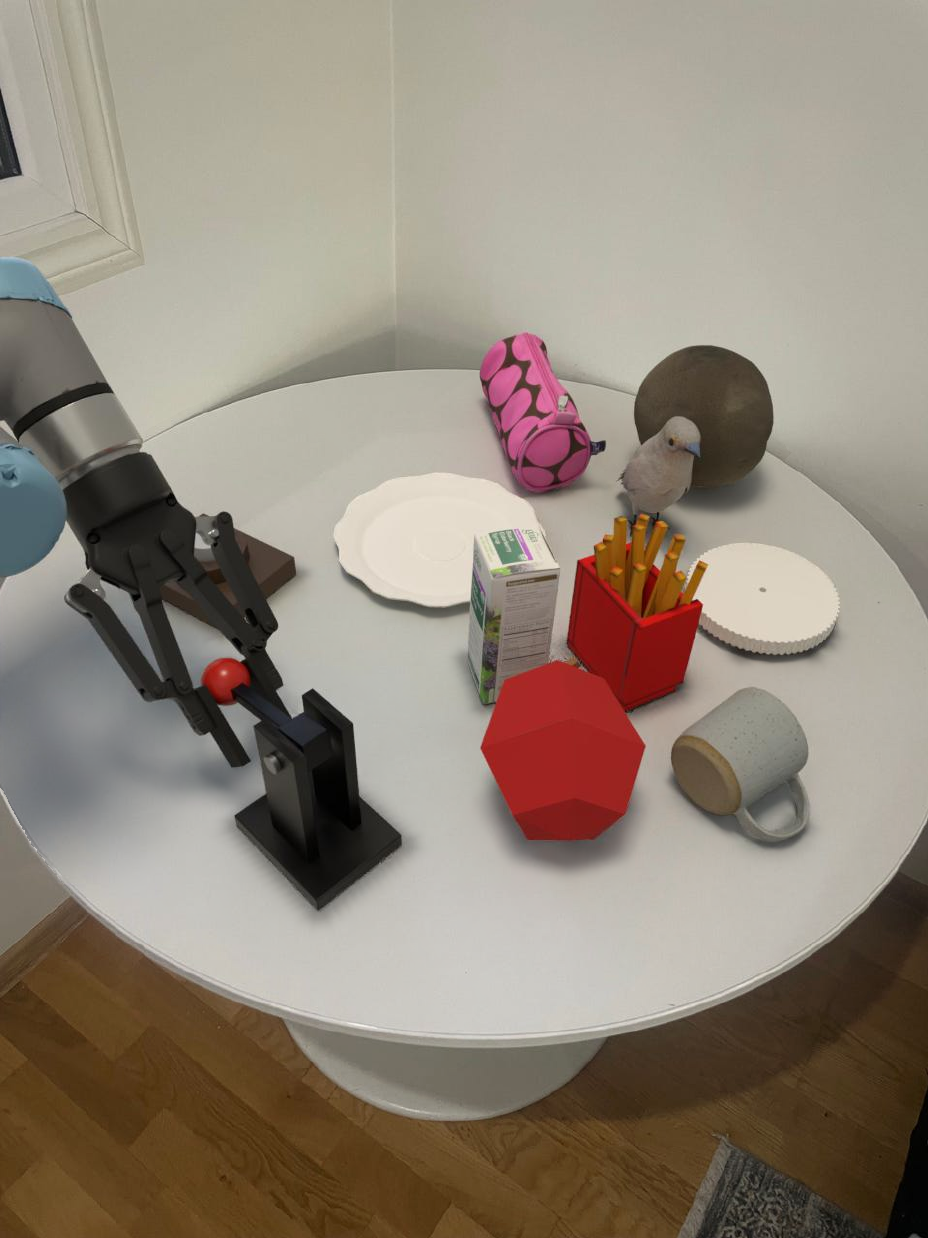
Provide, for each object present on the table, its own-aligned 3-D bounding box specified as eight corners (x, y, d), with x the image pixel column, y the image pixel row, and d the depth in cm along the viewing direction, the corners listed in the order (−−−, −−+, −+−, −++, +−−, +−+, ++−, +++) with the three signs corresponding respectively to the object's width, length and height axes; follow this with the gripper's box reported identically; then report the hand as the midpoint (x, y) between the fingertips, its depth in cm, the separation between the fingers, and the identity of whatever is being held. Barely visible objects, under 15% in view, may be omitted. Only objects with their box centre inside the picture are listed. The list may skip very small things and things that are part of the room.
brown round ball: (702, 432, 116) (728, 312, 106) (782, 497, 107) (819, 372, 97) (601, 462, 112) (618, 339, 101) (676, 532, 103) (703, 406, 92)
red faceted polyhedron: (473, 868, 74) (467, 694, 83) (631, 870, 76) (609, 698, 84) (491, 804, 65) (483, 614, 73) (673, 807, 66) (644, 619, 74)
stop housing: (132, 583, 95) (123, 550, 92) (206, 529, 101) (200, 498, 99) (224, 632, 90) (218, 600, 88) (296, 574, 97) (292, 542, 94)
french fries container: (627, 623, 93) (649, 501, 83) (686, 687, 87) (718, 565, 77) (563, 646, 90) (578, 524, 80) (620, 715, 84) (644, 592, 75)
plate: (321, 499, 105) (320, 486, 104) (509, 474, 109) (510, 461, 108) (355, 633, 91) (354, 619, 90) (571, 598, 95) (573, 585, 94)
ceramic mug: (656, 777, 79) (673, 715, 74) (724, 729, 83) (744, 667, 78) (759, 870, 74) (786, 810, 68) (827, 814, 77) (858, 753, 72)
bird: (652, 575, 98) (678, 446, 87) (599, 496, 107) (617, 371, 97) (697, 566, 99) (728, 438, 88) (641, 489, 108) (663, 364, 98)
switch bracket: (235, 825, 75) (209, 714, 67) (319, 767, 80) (304, 655, 71) (318, 911, 70) (301, 803, 62) (402, 844, 74) (398, 734, 66)
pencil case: (602, 492, 107) (613, 411, 101) (515, 503, 106) (521, 421, 99) (545, 391, 122) (552, 315, 116) (469, 399, 121) (471, 322, 114)
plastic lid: (837, 580, 98) (844, 561, 96) (827, 678, 88) (835, 658, 86) (694, 549, 101) (699, 529, 99) (670, 640, 91) (675, 620, 89)
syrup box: (465, 659, 89) (469, 532, 79) (528, 648, 90) (539, 521, 80) (482, 706, 85) (489, 578, 75) (548, 694, 86) (563, 565, 76)
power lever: (198, 702, 75) (185, 665, 73) (238, 678, 77) (227, 641, 75) (302, 784, 67) (291, 745, 64) (343, 755, 68) (334, 716, 66)
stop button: (178, 552, 93) (175, 538, 92) (208, 531, 95) (206, 516, 94) (209, 568, 91) (206, 554, 90) (239, 546, 94) (237, 531, 93)
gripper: (185, 444, 79) (332, 696, 82) (-17, 533, 70) (155, 812, 73) (213, 412, 73) (371, 687, 76) (-6, 507, 64) (183, 813, 67)
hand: (264, 748), depth 74 cm, fingers closed on power lever, 4 cm apart
